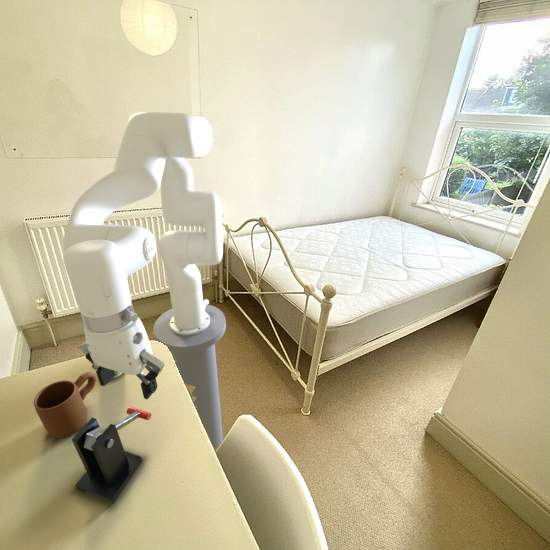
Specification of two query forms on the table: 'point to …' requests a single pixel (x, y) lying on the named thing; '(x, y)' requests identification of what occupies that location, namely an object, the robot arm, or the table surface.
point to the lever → (133, 415)
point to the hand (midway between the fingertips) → (129, 386)
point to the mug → (64, 405)
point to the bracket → (104, 463)
